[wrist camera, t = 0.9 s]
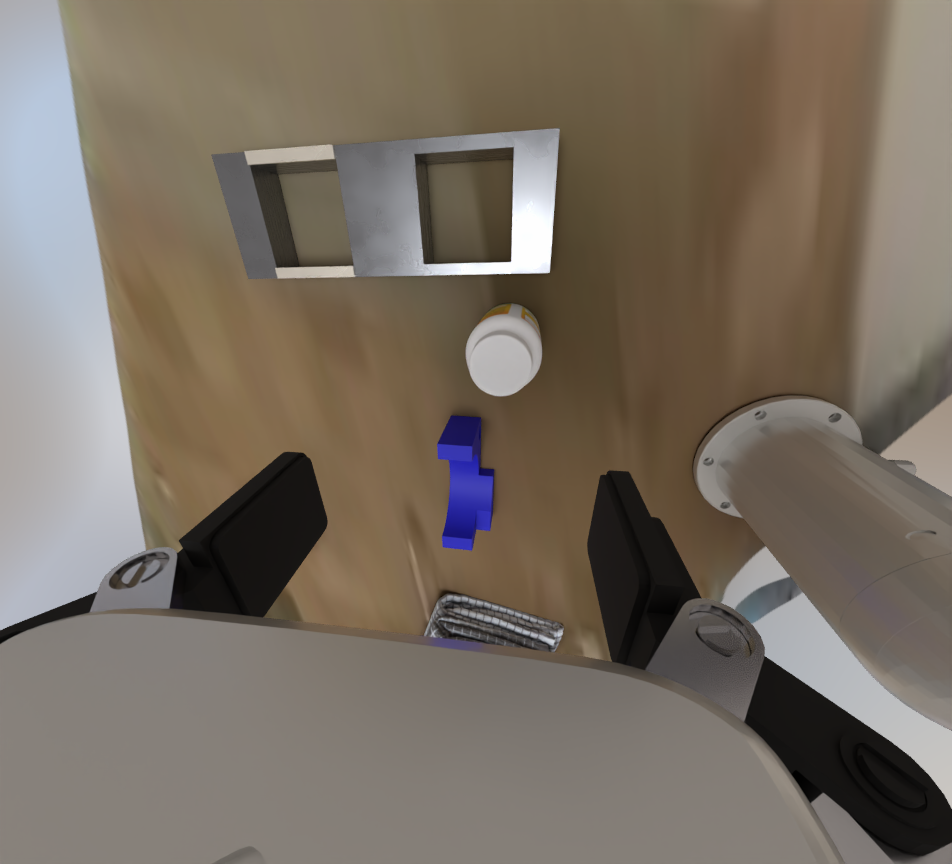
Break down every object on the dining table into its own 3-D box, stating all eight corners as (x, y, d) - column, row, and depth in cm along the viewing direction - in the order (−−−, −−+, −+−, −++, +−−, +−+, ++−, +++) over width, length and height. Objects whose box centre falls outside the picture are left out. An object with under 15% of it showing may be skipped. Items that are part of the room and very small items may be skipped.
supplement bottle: (471, 355, 31) (449, 393, 23) (487, 294, 29) (468, 311, 20) (528, 372, 31) (527, 417, 23) (549, 312, 29) (556, 337, 20)
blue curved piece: (492, 512, 39) (486, 552, 34) (454, 508, 40) (442, 547, 35) (496, 417, 34) (489, 447, 29) (451, 414, 34) (437, 443, 29)
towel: (440, 583, 46) (424, 640, 39) (569, 623, 46) (575, 687, 40) (419, 644, 54) (403, 701, 47) (531, 678, 54) (531, 741, 47)
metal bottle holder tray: (556, 142, 23) (560, 127, 21) (547, 271, 27) (549, 273, 24) (242, 164, 27) (209, 154, 24) (273, 276, 30) (246, 278, 28)
